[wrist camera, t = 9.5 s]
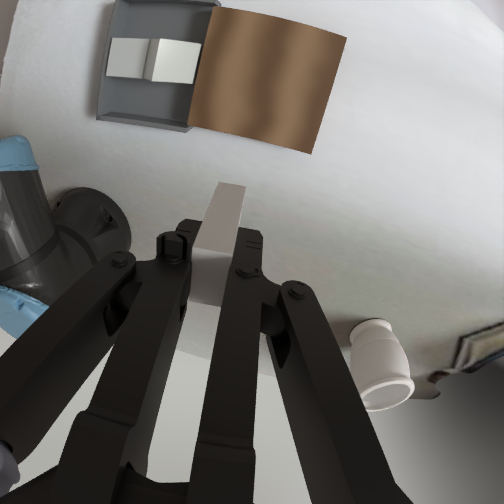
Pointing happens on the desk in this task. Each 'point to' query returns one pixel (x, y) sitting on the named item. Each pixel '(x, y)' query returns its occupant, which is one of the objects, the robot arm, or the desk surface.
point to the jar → (379, 366)
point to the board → (265, 78)
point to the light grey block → (127, 57)
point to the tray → (142, 90)
